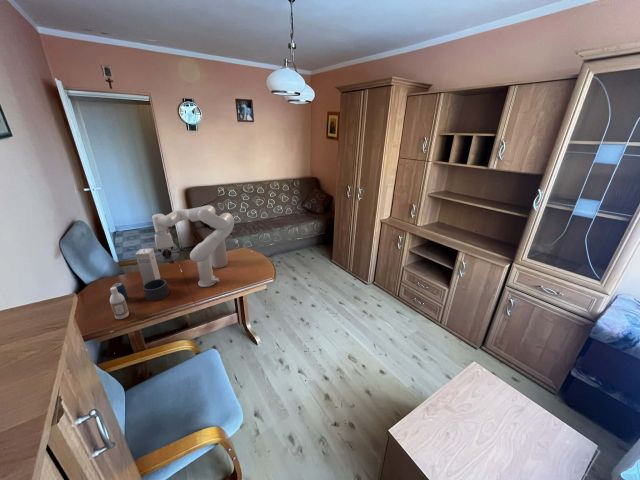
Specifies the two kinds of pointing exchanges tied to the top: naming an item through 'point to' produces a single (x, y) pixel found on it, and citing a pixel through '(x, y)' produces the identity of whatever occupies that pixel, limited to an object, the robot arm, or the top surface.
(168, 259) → the tin lid
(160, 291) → the tin
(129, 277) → the top surface
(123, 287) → the soda can
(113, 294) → the bath foam
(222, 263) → the cylinder vase
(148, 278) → the box
